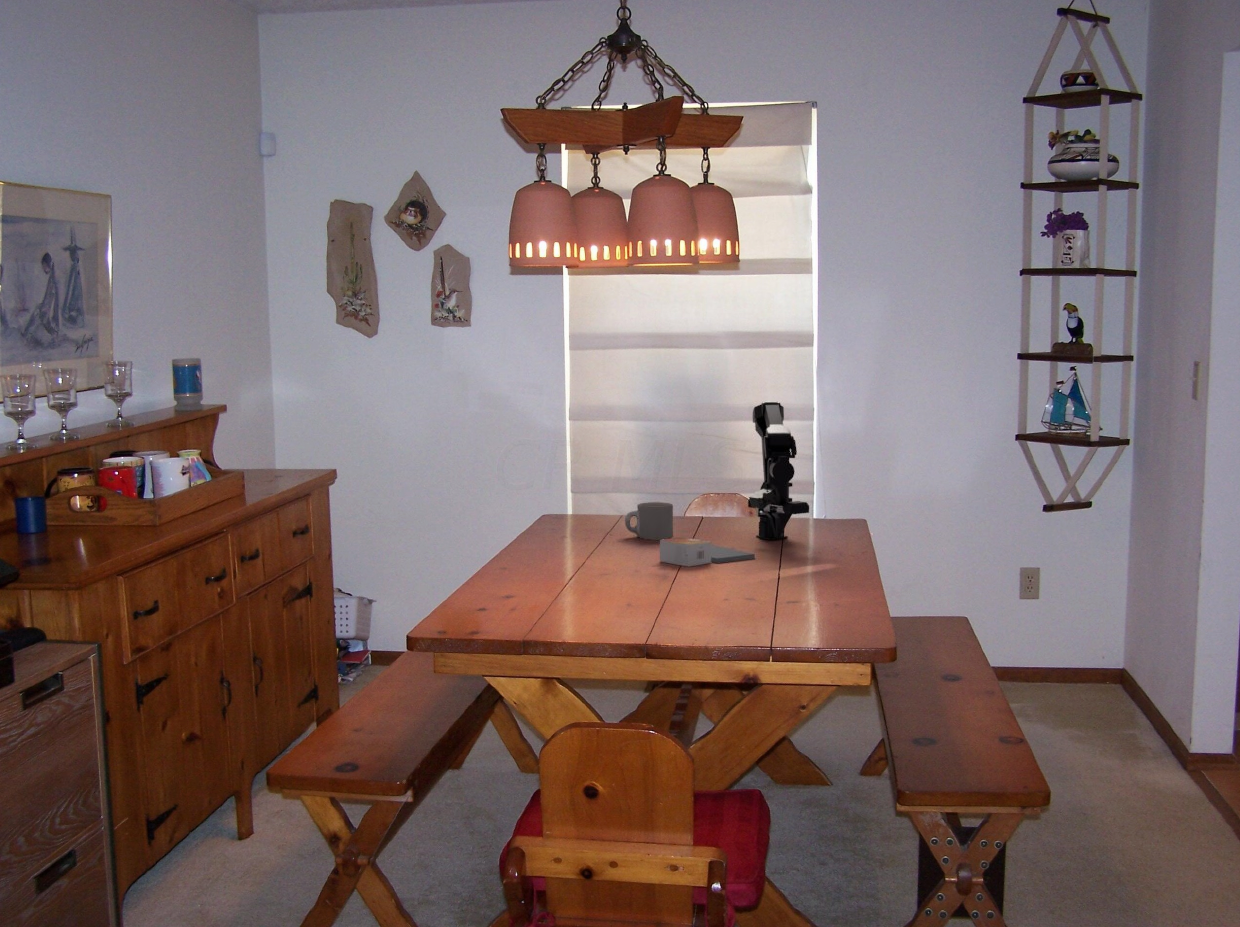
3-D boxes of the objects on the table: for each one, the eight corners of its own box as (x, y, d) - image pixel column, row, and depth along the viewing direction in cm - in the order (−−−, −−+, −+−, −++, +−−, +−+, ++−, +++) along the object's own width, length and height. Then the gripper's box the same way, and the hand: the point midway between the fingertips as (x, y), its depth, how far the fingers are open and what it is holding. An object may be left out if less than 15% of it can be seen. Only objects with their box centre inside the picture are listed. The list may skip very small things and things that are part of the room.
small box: (689, 544, 282) (658, 539, 289) (689, 567, 282) (658, 561, 290) (711, 540, 287) (681, 536, 295) (711, 563, 288) (681, 557, 295)
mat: (711, 549, 309) (711, 544, 309) (754, 558, 294) (754, 553, 294) (674, 553, 303) (674, 548, 302) (717, 563, 288) (717, 558, 287)
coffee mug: (672, 537, 331) (672, 502, 330) (673, 542, 321) (673, 506, 320) (625, 537, 331) (625, 502, 330) (624, 542, 321) (624, 506, 320)
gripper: (732, 477, 312) (732, 535, 313) (778, 483, 296) (777, 544, 297) (764, 475, 318) (764, 531, 319) (810, 481, 302) (810, 540, 303)
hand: (777, 537), depth 309 cm, fingers closed
